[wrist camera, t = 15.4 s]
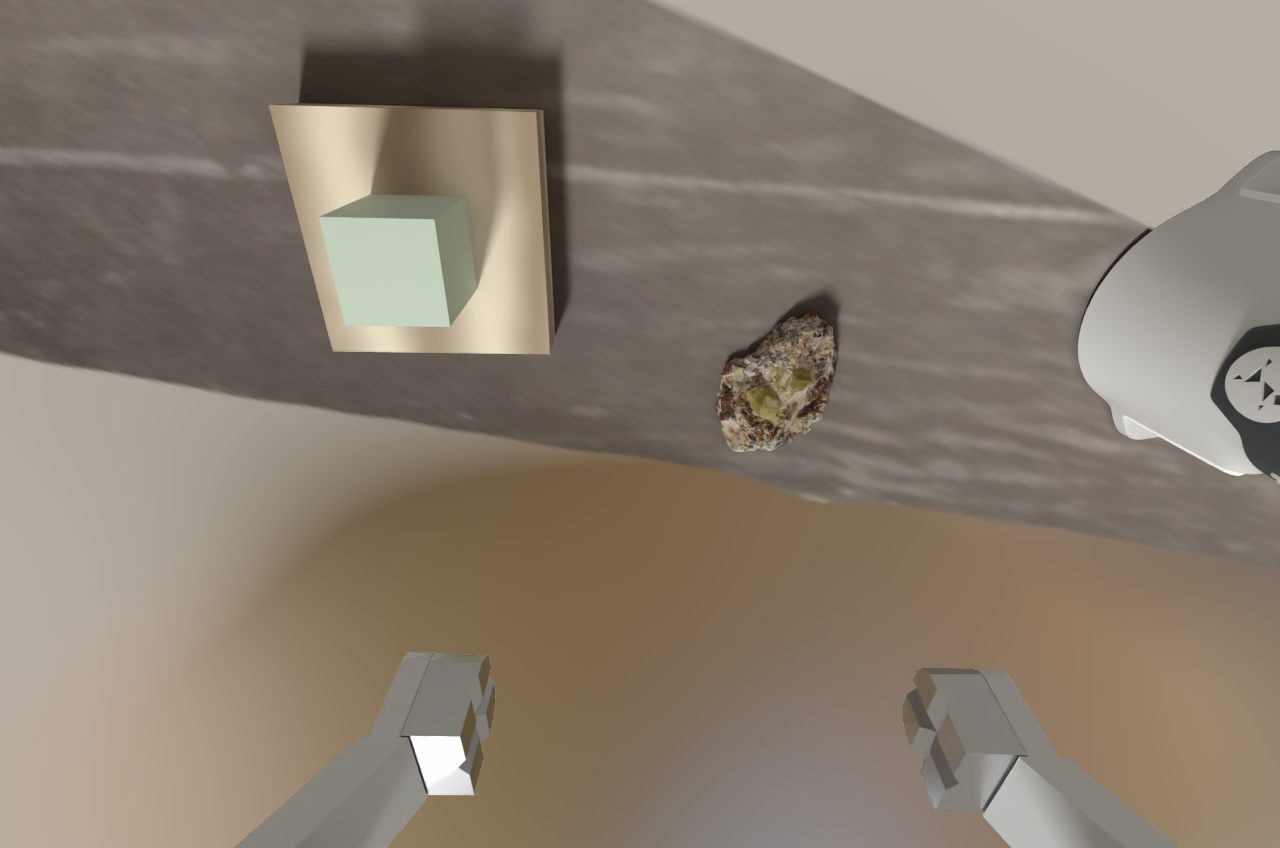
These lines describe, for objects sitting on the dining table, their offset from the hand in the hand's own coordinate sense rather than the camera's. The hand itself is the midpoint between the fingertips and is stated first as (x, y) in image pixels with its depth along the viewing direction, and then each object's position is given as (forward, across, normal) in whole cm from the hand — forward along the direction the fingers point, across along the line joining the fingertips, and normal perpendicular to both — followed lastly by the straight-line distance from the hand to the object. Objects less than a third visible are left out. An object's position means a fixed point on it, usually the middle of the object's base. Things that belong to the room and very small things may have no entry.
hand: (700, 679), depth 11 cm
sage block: (+25, +14, -2) cm, 29 cm away
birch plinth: (+28, +14, -2) cm, 31 cm away
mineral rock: (+30, -8, +8) cm, 32 cm away
